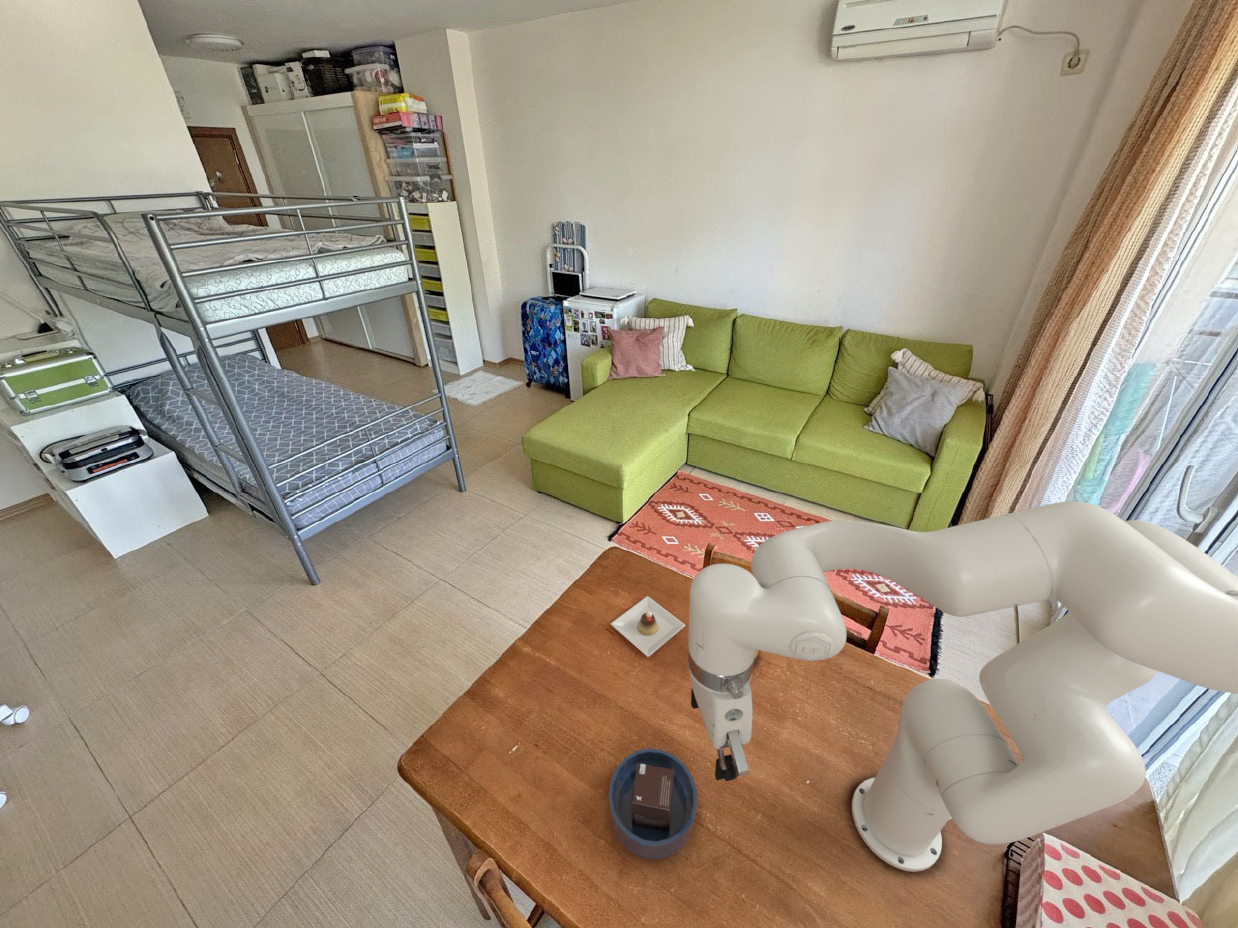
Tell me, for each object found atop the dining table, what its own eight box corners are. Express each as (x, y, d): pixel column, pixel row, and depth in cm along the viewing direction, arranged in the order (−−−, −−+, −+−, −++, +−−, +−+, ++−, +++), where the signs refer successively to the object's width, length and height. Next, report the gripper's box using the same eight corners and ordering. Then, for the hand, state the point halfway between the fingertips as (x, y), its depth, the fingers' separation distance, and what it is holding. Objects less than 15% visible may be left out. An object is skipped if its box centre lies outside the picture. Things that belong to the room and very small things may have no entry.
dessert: (648, 660, 104) (648, 645, 101) (610, 626, 111) (609, 612, 109) (685, 628, 111) (686, 613, 108) (647, 598, 118) (647, 584, 116)
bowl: (680, 757, 87) (681, 740, 84) (706, 849, 76) (709, 833, 73) (603, 774, 85) (602, 757, 82) (618, 871, 74) (617, 855, 71)
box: (668, 833, 77) (670, 811, 73) (630, 825, 78) (630, 803, 74) (673, 791, 82) (674, 769, 78) (637, 784, 83) (637, 761, 79)
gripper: (785, 721, 51) (768, 800, 60) (724, 596, 65) (717, 676, 74) (715, 737, 50) (709, 815, 59) (669, 607, 64) (669, 686, 73)
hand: (713, 737), depth 67 cm, fingers open, 9 cm apart
